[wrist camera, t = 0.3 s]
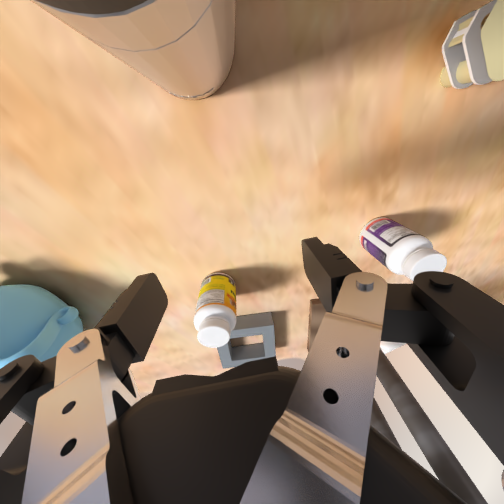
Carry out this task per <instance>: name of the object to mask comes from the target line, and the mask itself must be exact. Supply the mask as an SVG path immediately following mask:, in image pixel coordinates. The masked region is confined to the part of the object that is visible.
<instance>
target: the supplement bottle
mask: <svg viewBox="0 0 504 504" xmlns="http://www.w3.org/2000/svg"><path fill="white" fill-rule="evenodd" d="M194 325H195V327H196V329H197V330H198V335H197V338H198V341H199V342H200V343H201V344H202V345H204V346H206V347H211V348H216V347H221V346H223V345H225V344H226V343H228V341H229V339H230V332H231V331H232V330H233V329H234V327H235V325H236V285H235V282H234V280H233V279H232V278H231V277H230V276H229V275H227V274H224V273H212V274H210V275H208V276H207V277H205V279H204V280H203V282H202V284H201V289H200V293H199V297H198V302H197V307H196V311H195V316H194Z"/></svg>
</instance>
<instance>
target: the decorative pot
mask: <svg viewBox="0 0 504 504" xmlns="http://www.w3.org/2000/svg"><path fill="white" fill-rule="evenodd" d="M78 315H79V312H78V310H77V309H76V308H75V307H71V306H68V305H67V304H66V303H65V302H63V301H62V300H61V299H59V298H58V297H57V296H55V295H54V294H52V293H51V292H49V291H47V290H45V289H43V288H41V287H39V286H34V285H27V284H18V285H4V286H0V369H1V368H2V367H4V366H5V365H7V364H8V363H10V362H12V361H13V360H15V359H17V358H19V357H22V356H25V355H34V356H35V357H36V358H37V359H38V360H39V361H40V362H43V361H45V360H47V359H50V358H52V357H54V356H57V353H58V352H59V350H60V349H61V347H62V346H63V345H64V344H65V343H66V342H68V341H69V340H70V339H71V338H73V337H74V336H76V335H78V334H79V333H81V332H83V324H82V321H81V319H80V318H79V316H78Z"/></svg>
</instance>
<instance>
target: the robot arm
mask: <svg viewBox="0 0 504 504" xmlns="http://www.w3.org/2000/svg"><path fill="white" fill-rule="evenodd" d="M31 1H32V2H34V3H35V4H37V5H38V6H40V7H41V8H43V9H44V10H46V11H47V12H49V13H50V14H52V15H53V16H55V17H56V18H58V19H59V20H61V21H62V22H64V23H65V24H67V25H68V26H70V27H71V28H73V29H74V30H76V31H77V32H79V33H80V34H82V35H83V36H85V37H86V38H88V39H89V40H91V41H92V42H94V43H95V44H97V45H98V46H100V47H101V48H103V49H104V50H106V51H107V52H109V53H110V54H112V55H113V56H115V57H116V58H118V59H119V60H121V61H122V62H124V63H125V64H127V65H128V66H130V67H131V68H132V69H134V70H135V71H137V72H138V73H140V74H141V75H143V76H144V77H146V78H147V79H149V80H150V81H152V82H153V83H155V84H156V85H158V86H159V87H161V88H162V89H164V90H165V91H167V92H168V93H170V94H172V95H174V96H176V97H179V98H182V99H186V100H198V99H203V98H206V97H208V96H210V95H211V94H213V93H215V92H216V91H217V90H218V89H219V88H220V87H221V86H222V84H223V83H224V81H225V80H226V78H227V76H228V74H229V71H230V69H231V66H232V61H233V57H234V45H235V0H31ZM302 253H303V262H304V269H305V273H306V275H307V277H308V279H309V281H310V283H311V285H312V286H313V288H314V290H315V292H316V294H317V296H318V297H319V299H320V301H321V303H322V305H323V306H324V308H325V310H326V313H325V315H324V317H323V320H322V322H321V324H320V327H319V329H318V332H317V334H316V337H315V339H314V341H313V344H312V346H311V349H310V351H309V353H308V356H307V358H306V361H305V363H304V366H303V368H302V370H301V371H299V370H296V369H293V368H289V367H283V366H278V363H277V359H276V356H274V357H269V358H264V359H259V360H255V361H250V362H245V363H243V364H241V365H239V366H237V367H235V368H233V369H230V370H228V371H226V372H224V373H222V374H220V375H217V376H213V377H211V376H198V375H181V376H176V377H171V378H166V379H161V380H156V383H155V386H154V389H153V392H152V393H151V394H149V395H147V396H145V397H144V398H142V399H141V397H140V394H139V391H138V388H137V385H136V382H135V379H134V376H133V373H132V371H131V370H130V369H129V367H130V365H131V363H136V362H141V361H144V359H145V356H146V354H147V352H148V349H149V347H150V345H151V343H152V340H153V338H154V336H155V333H156V331H157V329H158V326H159V324H160V322H161V319H162V317H163V315H164V312H165V310H166V308H167V305H168V299H167V295H166V293H165V291H164V289H163V287H162V285H161V284H160V282H159V280H158V278H157V276H156V275H155V274H154V273H149V274H144V275H140V276H137V277H136V279H135V280H134V281H133V282H132V284H131V285H130V286H129V288H128V289H127V290H125V291H124V292H123V293H122V294H121V295H120V296H119V297H118V299H117V300H116V303H114V304H113V305H112V306H111V309H109V310H108V311H107V313H106V314H105V315H104V317H103V318H102V319H101V320H100V322H99V323H98V324H97V326H96V327H95V328H94V329H89V330H86V331H83V332H81V333H79V334H78V335H76V336H74V337H73V338H71V339H70V340H69V341H68V342H66V343H65V344H64V345H63V346H62V347H61V349H60V350H59V352H58V353H57V356H54V357H52V358H50V359H47V360H45V361H43V362H40V361H39V360H38V359H37V358H36V357H35V356H34V355H25V356H22V357H19V358H17V359H15V360H13V361H12V362H10V363H8V364H7V365H5V366H4V367H2V368H1V369H0V424H1V422H2V421H3V420H4V419H5V418H6V416H7V415H8V414H9V413H10V411H12V412H13V413H15V414H16V415H18V416H19V417H21V418H22V419H24V420H25V421H26V423H25V424H24V425H23V427H22V428H21V429H20V431H19V432H18V434H17V435H16V437H15V438H14V439H13V441H12V442H11V443H10V445H9V446H8V447H7V449H6V450H5V452H4V453H3V454H2V456H1V457H0V504H467V503H466V502H465V501H464V500H462V499H461V498H460V497H459V496H457V495H456V494H455V493H454V492H453V491H451V490H450V489H449V488H448V487H446V486H445V485H444V484H443V483H442V482H440V481H439V480H438V479H437V478H435V477H434V476H433V475H432V474H431V473H429V472H428V471H427V470H425V469H424V468H423V467H422V466H421V465H420V464H418V463H417V462H416V461H415V460H413V459H412V458H411V457H409V456H408V455H407V454H406V453H405V452H404V451H402V450H401V449H400V448H399V447H398V446H396V445H395V444H394V443H393V442H391V441H390V440H389V439H388V438H387V437H385V436H384V435H383V434H382V433H380V432H379V431H378V430H377V429H376V428H374V427H373V426H372V425H371V424H370V421H371V413H372V405H373V397H374V389H375V381H376V373H377V366H378V358H379V350H380V342H381V341H386V342H397V343H407V344H408V345H409V347H410V348H411V349H412V350H413V352H414V353H415V354H416V355H417V356H418V358H419V359H420V360H421V362H422V363H423V364H424V365H425V367H426V368H427V369H428V370H429V372H430V373H431V374H432V376H433V377H434V378H435V379H436V381H437V382H438V383H439V384H440V386H441V387H442V388H443V390H444V391H445V392H446V393H447V394H448V396H449V397H450V398H451V400H452V401H453V402H454V403H455V405H456V406H457V407H458V408H459V410H460V411H461V412H462V414H463V415H464V416H465V417H466V418H467V420H468V421H469V422H470V424H471V425H472V426H473V427H474V429H475V430H476V431H477V432H478V434H479V435H480V436H481V438H482V439H483V440H484V441H485V443H486V444H487V445H488V446H489V448H490V449H491V450H492V451H493V453H494V454H495V455H496V457H497V458H498V459H499V460H500V461H501V463H502V464H503V465H504V305H503V304H501V303H499V302H498V301H496V300H495V299H493V298H492V297H490V296H488V295H487V294H485V293H484V292H482V291H480V290H479V289H477V288H476V287H474V286H473V285H471V284H469V283H468V282H466V281H465V280H463V279H461V278H460V277H457V276H455V275H452V274H449V273H445V272H439V271H425V272H421V273H418V274H417V275H415V277H414V280H413V284H389V283H387V282H386V281H385V280H384V279H383V278H382V277H380V276H378V275H376V274H373V273H368V272H362V271H361V270H360V269H359V268H358V267H357V266H356V265H355V264H354V263H353V262H352V261H351V260H350V259H349V258H347V256H346V255H345V254H344V253H343V252H342V251H341V250H340V249H339V248H338V247H336V246H333V245H331V244H325V245H324V244H323V243H322V242H321V241H320V240H319V239H318V238H317V237H313V238H309V239H304V240H302ZM502 486H503V489H504V470H503V473H502Z"/></svg>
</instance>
